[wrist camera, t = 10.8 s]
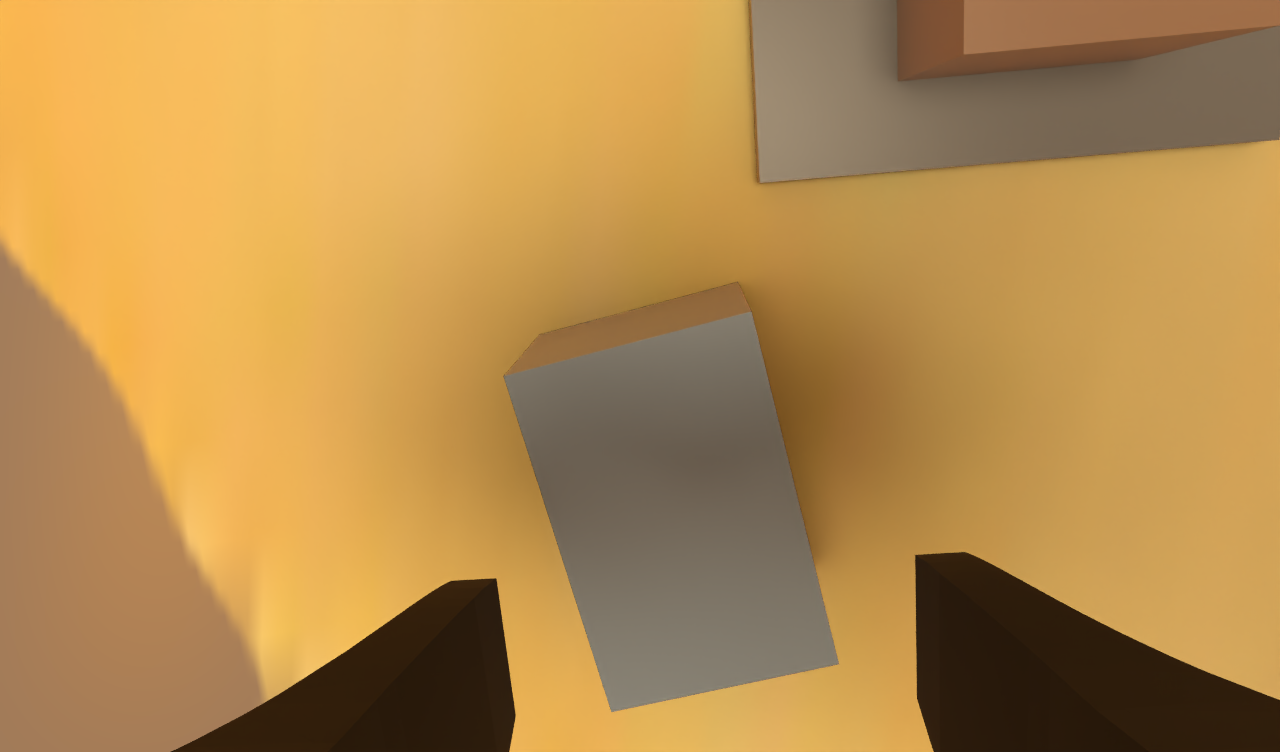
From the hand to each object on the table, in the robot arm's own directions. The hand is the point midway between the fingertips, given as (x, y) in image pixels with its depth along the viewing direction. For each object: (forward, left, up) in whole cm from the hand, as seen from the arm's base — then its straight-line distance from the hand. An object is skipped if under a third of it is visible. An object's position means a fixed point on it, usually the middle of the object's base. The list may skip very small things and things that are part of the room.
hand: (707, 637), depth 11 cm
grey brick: (+1, 0, -9) cm, 9 cm away
